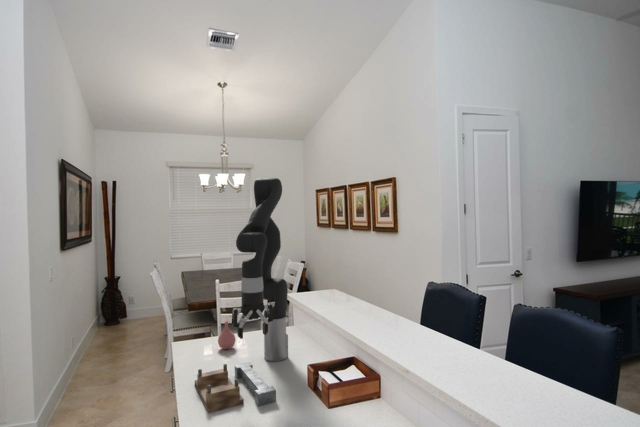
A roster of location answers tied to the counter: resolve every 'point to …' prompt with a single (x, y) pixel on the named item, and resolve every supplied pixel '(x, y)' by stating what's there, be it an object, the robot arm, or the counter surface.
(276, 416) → the counter surface
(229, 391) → the rack
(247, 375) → the grey flared end bar
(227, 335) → the pink teardrop shape
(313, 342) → the counter surface
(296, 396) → the counter surface
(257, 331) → the counter surface
